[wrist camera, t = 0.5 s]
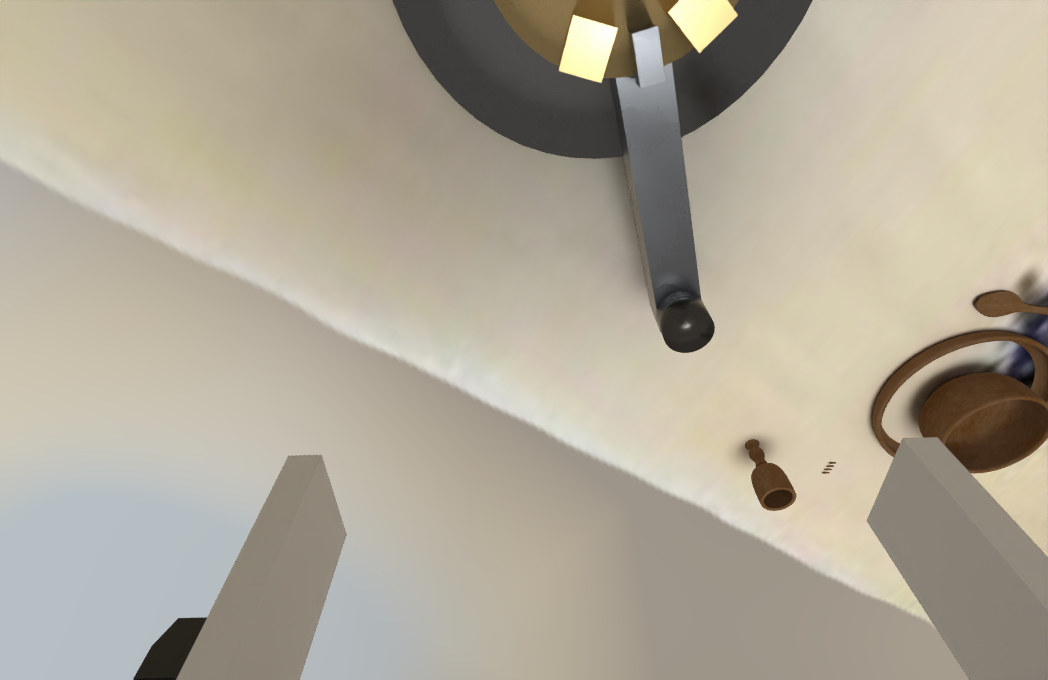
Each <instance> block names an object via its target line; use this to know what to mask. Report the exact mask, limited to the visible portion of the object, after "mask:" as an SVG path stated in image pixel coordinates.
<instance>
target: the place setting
mask: <svg viewBox="0 0 1048 680" xmlns="http://www.w3.org/2000/svg"><path fill="white" fill-rule="evenodd" d="M975 307H976V309H977V310H978V311H979V312H980V313H981V314H983V315H985V316H988V317H999V316H1004V315H1008V314H1011V313H1014V312H1032V313H1039V314H1045V315H1048V307H1042V306H1034V305H1029V304H1025V303H1024V302H1022V300H1021V299H1020V298H1019V296H1018V295H1016V294H1014V293H1012V292H1008V291H999V292H992V293H989V294H985V295H983V296H981V297H980V298H979V299H978V300H977V302H976V303H975ZM991 341H1013V342H1015V343H1017V344H1019V345H1021V346H1022V347H1024V348H1025V349H1026V350H1027V351H1028V352H1029V354H1030V355H1031V357H1032V359H1033V361H1034V365H1035V378H1034V382H1033V385H1032V387H1031V389H1030V388H1028V387H1027V386H1026V385H1024V384H1023V383H1021V382H1019V381H1018V380H1016V379H1014V378H1012V377H1009V376H1006V375H1003V374H998V373H975V374H970V375H964V376H958V377H955V378H952V379H949V380H947V381H945V382H943V383H942V384H940V385H939V386H938V387H936V388H935V389H934V390H933V391H932V393H931V394H930V395H929V397H928V399H927V401H926V403H925V404H924V406H923V408H922V410H921V413H920V418H919V427H920V431H921V433H922V436H923V437H924V438H930V437H937V438H938V439H939V440H940V441H941V442H942V443H943V444H944V445H945V446H946V447H947V449H948V450H949V451H950V452H951V453H952V454H953V455H954V456H955V457H956V458H957V459H958V460H959V462H960V463H961V464H962V465H963V466H964V467H965V468H966V469H967V470H968V471H969V472H970V473H985V472H991V471H995V470H999V469H1002V468H1005V467H1007V466H1010V465H1012V464H1014V463H1016V462H1018V461H1020V460H1022V459H1024V458H1025V457H1027V456H1029V455H1030V454H1031V453H1033V452H1034V451H1035V450H1037V449H1038V448H1039V447H1040V446H1041V445H1042V444H1043V443H1044V442H1045V441H1046V439H1047V438H1048V348H1047V347H1045V346H1044V345H1042V344H1041V343H1039V342H1038V341H1036V340H1034V339H1031V338H1029V337H1027V336H1024V335H1020V334H1016V333H1012V332H1002V331H985V332H977V333H971V334H966V335H961V336H958V337H955V338H951V339H948V340H946V341H943V342H941V343H938V344H936V345H934V346H932V347H930V348H928V349H926V350H925V351H923V352H921V353H920V354H918V355H916V356H915V357H913V358H912V359H911V360H909V361H908V362H907V363H905V364H904V365H903V366H902V367H901V368H900V369H898V370H897V371H896V372H895V373H894V374H893V376H892V377H891V378H890V379H889V380H888V381H887V383H886V384H885V385H884V387H883V388H882V390H881V392H880V393H879V395H878V398H877V400H876V402H875V406H874V410H873V418H872V421H873V429H874V432H875V435H876V437H877V439H878V441H879V442H880V444H881V446H882V447H883V448H884V449H885V450H886V452H887V453H889V454H890V455H891V456H893V457H895V454H896V452H897V450H898V448H899V445H900V443H898V442H896V441H894V440H893V439H891V438H890V437H889V436H888V435H887V434H886V433H885V431H884V429H883V428H882V425H881V422H882V417H883V413H884V411H885V408H886V406H887V404H888V402H889V401H890V399H891V398H892V396H893V395H894V393H895V392H896V391H897V390H898V388H899V387H900V386H901V385H902V384H903V383H904V382H905V381H906V380H907V379H908V378H910V377H911V376H912V375H913V374H914V373H916V372H917V371H918V370H920V369H921V368H923V367H924V366H925V365H927V364H929V363H930V362H932V361H934V360H935V359H937V358H939V357H941V356H943V355H946V354H948V353H950V352H953V351H955V350H958V349H960V348H964V347H967V346H970V345H974V344H978V343H983V342H991ZM758 446H759V441H758V440H755V439H752V440H749V441H747V442H746V443H745V448H746V449H749V450H750V451H749V456H750V458H751V459H752V460H753V461H754V462H755V464H756V468H755V469H754V470H753V472H752V475H751V480H752V484H753V487H754V490H755V493H756V495H757V497H758V500H759V502H760V503H761V505H762V507H763V508H765V509H767V510H771V511H777V510H782V509H785V508H787V507H789V506H790V505H792V504H793V503H794V501H795V499H796V493H795V491H794V489H793V487H792V485H791V483H790V481H789V479H788V477H787V476H786V474H785V473H784V471H783V470H782V469H781V468H780V467H779V466H777V465H775V464H772V463H767V462H766V461H765V459H764V452H763V450H762V449H761V448H759V447H758ZM835 463H836V462H831V463H829V464H835ZM826 467H834V466H833V465H830V466H826ZM825 470H832V469H825ZM823 473H830V472H823Z"/></svg>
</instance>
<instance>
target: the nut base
mask: <svg viewBox="0 0 1048 680" xmlns="http://www.w3.org/2000/svg"><path fill="white" fill-rule="evenodd" d="M393 2H394V5H395V7H396V10H397V12H398V14H399V17H400V19H401V22H402V24H403V26H404V28H405V30H406V32H407V34H408V36H409V38H410V39H411V41H412V43H413V45H414V47H415V48H416V50H417V52H418V54H419V56H420V57H421V58H422V60H423V61H424V63H425V64H426V65H427V67H428V68H429V70H430V71H431V72H432V74H433V75H434V77H435V78H436V79H437V81H438V82H439V83H440V84H441V85H442V86H443V87H444V88H445V89H446V91H447V92H448V93H449V94H450V95H451V96H452V97H453V98H454V99H455V100H456V101H457V102H458V103H459V104H460V105H461V106H462V107H463V108H465V109H466V110H467V111H468V112H469V113H470V114H472V115H473V116H474V117H475V118H476V119H478V120H479V121H481V122H482V123H484V124H485V125H487V126H488V127H490V128H491V129H493V130H494V131H496V132H497V133H499V134H501V135H503V136H505V137H507V138H509V139H511V140H513V141H515V142H517V143H519V144H521V145H524V146H527V147H530V148H533V149H536V150H539V151H542V152H545V153H550V154H555V155H560V156H566V157H573V158H593V159H596V158H609V157H620V156H623V153H622V148H621V142H620V137H619V131H618V126H617V120H616V115H615V109H614V104H613V98H612V93H611V88H610V82H609V78H603V79H602V82H601V83H600V82H596V81H593V80H589V79H585V78H582V77H578V76H575V75H571V74H568V73H564V72H560V71H558V66H557V65H555V64H554V63H552V62H550V61H548V60H546V59H545V58H543V57H542V56H541V55H539V54H538V53H537V52H535V51H534V50H532V49H531V48H530V47H529V46H528V45H527V44H526V43H525V42H524V41H523V40H522V39H521V38H520V37H519V36H518V35H517V34H516V33H515V31H514V30H513V29H512V28H511V26H510V25H509V24H508V23H507V21H506V20H505V18H504V17H503V15H502V13H501V12H500V10H499V8H498V7H497V5H496V4H495V2H494V0H393ZM811 2H812V0H739V1H738V3H737V4H736V5H735V7H734V8H733V9H734V10H735V12H736V13H737V15H738V16H737V17H736V18H735V19H734V20H733V21H732V22H731V23H730V24H729V25H728V26H727V27H726V28H725V29H724V30H723V31H722V32H721V33H720V34H719V35H717V36H716V37H715V38H714V39H713V40H712V41H711V42H710V43H709V44H708V45H707V46H706V47H705V48H704V49H703V50H702V51H701V52H700V53H698V52H696V51H694V50H693V49H692V50H691V51H690V52H688V53H687V54H685V55H684V56H682V57H681V58H679V59H677V60H675V61H673V62H672V68H673V76H674V84H675V92H676V100H677V108H678V116H679V124H680V133H681V137H682V136H684V135H686V134H688V133H690V132H692V131H694V130H696V129H697V128H699V127H701V126H702V125H704V124H705V123H707V122H708V121H710V120H711V119H713V118H715V117H716V116H718V115H719V114H720V113H721V112H723V111H724V110H725V109H726V108H728V107H729V106H730V105H731V104H732V103H734V102H735V101H736V100H737V99H739V98H740V97H741V96H742V95H743V94H744V93H745V92H746V91H747V90H748V89H749V88H750V87H751V86H752V85H753V84H754V83H755V82H756V81H757V80H758V79H759V78H760V77H761V76H762V75H763V74H764V73H765V71H766V70H767V69H768V68H769V66H770V65H771V64H772V63H773V61H774V60H775V59H776V58H777V56H778V55H779V54H780V53H781V51H782V50H783V49H784V47H785V46H786V44H787V43H788V41H789V40H790V38H791V37H792V35H793V34H794V32H795V30H796V29H797V27H798V26H799V24H800V23H801V21H802V20H803V18H804V16H805V14H806V12H807V10H808V8H809V6H810V4H811Z"/></svg>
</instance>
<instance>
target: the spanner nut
mask: <svg viewBox="0 0 1048 680" xmlns="http://www.w3.org/2000/svg"><path fill="white" fill-rule="evenodd" d="M738 1H739V0H494V2H495V4H496V5H497V7H498V8H499V10H500V12H501V13H502V15H503V17H504V18H505V20H506V21H507V23H508V24H509V25H510V26H511V28H512V29H513V30H514V31H515V33H516V34H517V35H518V36H519V37H520V38H521V39H522V40H523V41H524V42H525V43H526V44H527V45H528V46H529V47H530V48H531V49H532V50H534V51H535V52H537V53H538V54H539V55H541V56H542V57H543V58H545V59H546V60H548V61H550V62H552V63H554V64H555V65H557V66H558V71H560V72H564V73H568V74H571V75H575V76H578V77H582V78H585V79H589V80H593V81H596V82H600V83H601V82H602V79H603V78H609V82H610V88H611V93H612V98H613V104H614V109H615V115H616V120H617V126H618V131H619V137H620V142H621V148H622V153H623V159H624V164H625V170H626V175H627V181H628V186H629V192H630V197H631V203H632V208H633V214H634V219H635V225H636V230H637V236H638V241H639V246H640V252H641V257H642V263H643V268H644V274H645V279H646V285H647V290H648V296H649V301H650V306H651V309H652V311H653V314H654V316H655V319H656V322H657V324H658V327H659V330H660V332H661V333H662V335H663V338H664V340H665V343H666V344H667V346H668V347H669V348H671V349H672V350H674V351H677V352H681V353H689V352H694V351H697V350H699V349H701V348H702V347H704V346H705V345H706V344H707V343H708V342H709V341H710V340H711V338H712V337H713V334H714V329H715V327H714V322H713V320H712V318H711V317H710V315H709V313H708V311H707V309H706V307H705V305H704V304H703V302H702V300H701V295H700V287H699V279H698V271H697V262H696V254H695V246H694V238H693V230H692V222H691V214H690V206H689V198H688V189H687V181H686V173H685V165H684V157H683V149H682V141H681V133H680V124H679V116H678V108H677V100H676V92H675V84H674V76H673V68H672V62H673V61H675V60H677V59H679V58H681V57H682V56H684V55H685V54H687V53H688V52H690V51H691V50H692V49H693V50H694V51H696V52H698V53H700V52H701V51H702V50H703V49H704V48H705V47H706V46H707V45H708V44H709V43H710V42H711V41H712V40H713V39H714V38H715V37H716V36H717V35H719V34H720V33H721V32H722V31H723V30H724V29H725V28H726V27H727V26H728V25H729V24H730V23H731V22H732V21H733V20H734V19H735V18H736V17H737V16H738V15H737V13H736V12H735V10H734V9H733V8H734V7H735V5H736V4H737V3H738Z"/></svg>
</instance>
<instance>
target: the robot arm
mask: <svg viewBox="0 0 1048 680" xmlns="http://www.w3.org/2000/svg"><path fill="white" fill-rule="evenodd" d="M867 522H868V524H869V525H870V527H871V528H872V530H873V531H874V533H875V535H876V536H877V538H878V539H879V541H880V542H881V544H882V545H883V547H884V548H885V550H886V552H887V553H888V555H889V556H890V558H891V559H892V561H893V562H894V564H895V565H896V567H897V569H898V570H899V572H900V573H901V575H902V576H903V578H904V579H905V581H906V582H907V584H908V586H909V587H910V589H911V590H912V592H913V593H914V595H915V596H916V598H917V599H918V601H919V603H920V604H921V606H922V607H923V609H924V610H925V612H926V613H927V615H928V616H929V618H930V620H931V621H932V623H933V624H934V626H935V627H936V629H937V630H938V632H939V633H940V635H941V637H942V638H943V640H944V641H945V643H946V644H947V646H948V647H949V649H950V651H951V652H952V654H953V655H954V657H955V658H956V660H957V661H958V663H959V664H960V666H961V668H962V669H963V671H964V672H965V674H966V675H967V677H968V678H969V680H1048V557H1047V556H1046V555H1045V554H1044V552H1043V551H1042V550H1041V549H1040V548H1039V547H1038V546H1037V545H1036V544H1035V543H1034V542H1033V541H1032V539H1031V538H1030V537H1029V536H1028V535H1027V534H1026V533H1025V532H1024V531H1023V530H1022V529H1021V528H1020V526H1019V525H1018V524H1017V523H1016V522H1015V521H1014V520H1013V519H1012V518H1011V517H1010V516H1009V515H1008V513H1007V512H1006V511H1005V510H1004V509H1003V508H1002V507H1001V506H1000V505H999V504H998V503H997V502H996V500H995V499H994V498H993V497H992V496H991V495H990V494H989V493H988V492H987V491H986V490H985V489H984V488H983V486H982V485H981V484H980V483H979V482H978V481H977V480H976V479H975V478H974V477H973V476H972V475H971V473H970V472H969V471H968V470H967V469H966V468H965V467H964V466H963V465H962V464H961V463H960V462H959V460H958V459H957V458H956V457H955V456H954V455H953V454H952V453H951V452H950V451H949V450H948V449H947V447H946V446H945V445H944V444H943V443H942V442H941V441H940V440H939V439H938V438H937V437H930V438H902V441H901V443H900V445H899V448H898V450H897V452H896V454H895V457H894V459H893V461H892V464H891V466H890V468H889V471H888V473H887V475H886V477H885V480H884V482H883V484H882V487H881V489H880V491H879V494H878V496H877V498H876V500H875V503H874V505H873V507H872V510H871V512H870V514H869V517H868V519H867ZM345 538H346V531H345V528H344V525H343V521H342V518H341V515H340V512H339V509H338V505H337V502H336V499H335V496H334V493H333V490H332V486H331V483H330V480H329V477H328V474H327V470H326V467H325V464H324V461H323V458H322V455H303V456H301V455H300V456H288V458H287V460H286V462H285V464H284V466H283V468H282V470H281V472H280V474H279V476H278V478H277V480H276V482H275V484H274V486H273V488H272V490H271V492H270V494H269V496H268V498H267V500H266V502H265V504H264V505H263V507H262V509H261V511H260V513H259V516H258V518H257V519H256V522H255V523H254V525H253V527H252V529H251V531H250V533H249V535H248V537H247V540H246V542H245V543H244V545H243V547H242V549H241V551H240V553H239V555H238V557H237V559H236V561H235V564H234V565H233V567H232V569H231V571H230V574H229V575H228V577H227V579H226V581H225V583H224V585H223V587H222V589H221V591H220V593H219V595H218V597H217V599H216V601H215V603H214V605H213V607H212V609H211V611H210V614H209V616H208V617H207V618H178V619H177V620H176V621H175V622H174V623H173V625H172V626H171V627H170V628H169V629H168V630H167V631H166V632H165V633H164V634H163V635H162V636H161V637H160V638H159V639H158V640H157V641H156V642H155V643H154V644H153V645H152V647H151V649H150V650H149V652H148V654H147V656H146V657H145V659H144V661H143V663H142V665H141V666H140V668H139V670H138V671H137V673H136V675H135V677H134V680H300V677H301V674H302V671H303V668H304V665H305V662H306V659H307V655H308V652H309V649H310V646H311V643H312V640H313V637H314V633H315V631H316V627H317V624H318V621H319V618H320V615H321V612H322V609H323V606H324V603H325V600H326V596H327V593H328V590H329V587H330V584H331V581H332V578H333V575H334V572H335V569H336V566H337V562H338V559H339V556H340V553H341V550H342V547H343V544H344V541H345Z"/></svg>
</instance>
